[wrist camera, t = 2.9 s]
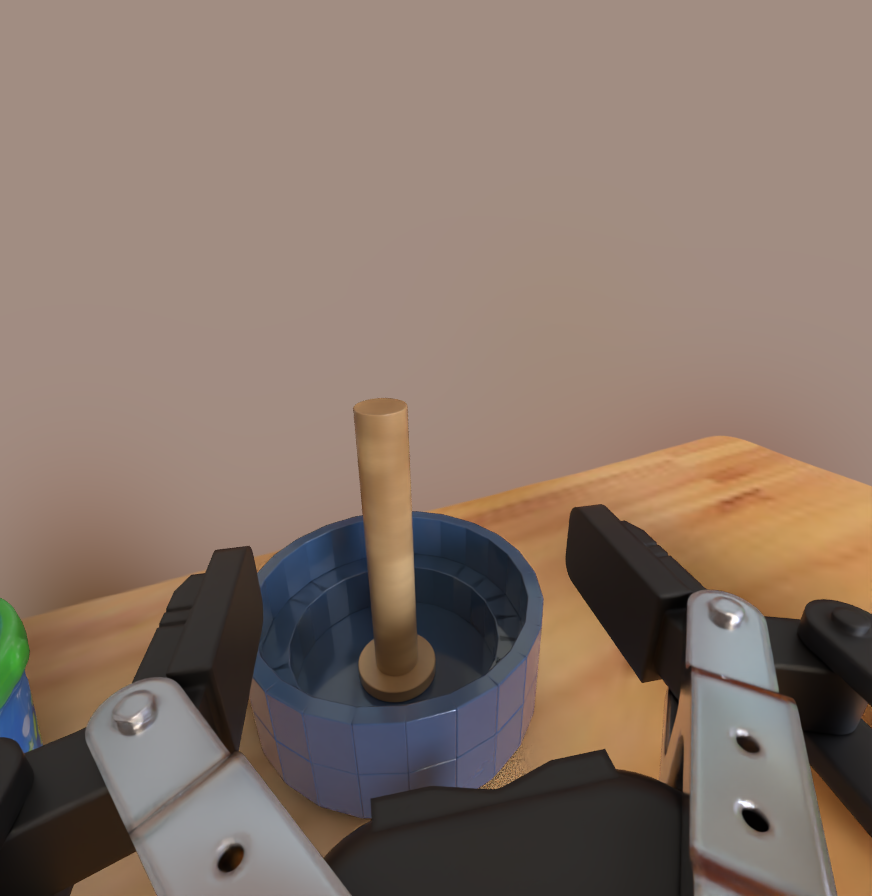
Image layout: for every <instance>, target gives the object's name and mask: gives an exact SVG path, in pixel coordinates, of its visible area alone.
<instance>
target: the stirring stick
mask: <svg viewBox="0 0 872 896" xmlns="http://www.w3.org/2000/svg"><path fill="white" fill-rule="evenodd" d="M353 411H354V423H355V434H356V445H357V456H358V467H359V478H360V490H361V499H362V500H361V501H362V512H363V523H364V534H365V546H366V557H367V568H368V579H369V590H370V601H371V612H372V624H373V635H374V639H373V640H372V641H370V642H369V643H368V644H367V645H366V646H365V648H364V649H363V651H362V653H361V655H360V657H359V662H358V668H359V677H360V681H361V684H362V686H363V687H364V689H365V690H366V691H367V692H368V693H369V694H370V695H371V696H373V697H375V698H377V699H379V700H382V701H386V702H403V701H407V700H410V699H413V698H415V697H417V696H418V695H420V694H421V693H423V692H424V691H425V690H426V689H427V688H428V687H429V685H430V684H431V682H432V681H433V678H434V676H435V671H436V659H435V653H434V650H433V648H432V646H431V645H430V643H429V642H428V641H427V640H426V639H424V638H423V637H421V636H420V635H418V634H417V622H416V599H415V575H414V551H413V528H412V505H411V480H410V458H409V434H408V409H407V404H406V403H405V402H404V401H401V400H398V399H391V398H378V399H370V400H365V401H362V402H360V403H357V404H356V405H355V406H354V408H353Z"/></svg>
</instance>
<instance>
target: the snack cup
mask: <svg viewBox="0 0 872 896" xmlns="http://www.w3.org/2000/svg"><path fill="white" fill-rule="evenodd" d="M29 652H30V650H29V645H28V639H27V634H26V631H25V628H24V626H23V623H22V621H21V619H20V618H19V616H18V615H17V613H16V611H15V609H14V608H13V607H12V606H11V605H10V604H9V603H8V602H7V601H5V600H4V599H2V598H0V737H6V738H11V739H13V740H15V741H16V742H17V743H18V744H19V745H20V747H21V749H22V751H23V752H24V753H26V752H29V751H31V750H34V749H36V748H39V747H41V746H43V743H42V738H41V734H40V729H39V725H38V721H37V716H36V712H35V708H34V704H33V700H32V695H31V690H30V686H29V681H28V679H27V677H26V674H25V667H26V665H27V662H28V659H29Z"/></svg>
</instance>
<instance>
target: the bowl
mask: <svg viewBox="0 0 872 896" xmlns="http://www.w3.org/2000/svg"><path fill="white" fill-rule="evenodd" d="M412 528H413V551H414V575H415V599H416V622H417V634H418V635H420V636H421V637H423V638H424V639H426V640H427V641H428V642H429V643H430V645H431V646H432V648H433V650H434V653H435V659H436V671H435V676H434V678H433V681H432V682H431V684H430V685H429V687H428V688H427V689H426V690H425V691H424V692H423V693H421V694H420V695H418V696H417V697H415V698H413V699H410V700H407V701H403V702H386V701H382V700H379V699H377V698H375V697H373V696H371V695H370V694H369V693H368V692H367V691H366V690H365V689H364V687H363V686H362V684H361V681H360V677H359V668H358V662H359V657H360V655H361V653H362V651H363V649H364V648H365V646H366V645H367V644H368V643H369V642H370V641H372V640H373V639H374V635H373V624H372V612H371V601H370V590H369V579H368V568H367V557H366V546H365V534H364V523H363V515H362V516H355V517H352V518H348V519H346V520H342V521H338V522H335V523H332V524H329V525H326V526H324V527H321V528H319V529H317V530H315V531H313V532H311V533H309V534H307V535H305V536H303V537H300V538H299V539H297V540H295V541H293V542H292V543H291V544H289V545H288V546H286V547H285V548H284V549H282V550H281V551H279V552H278V553H276V554H275V555H274V556H273V557H272V558H271V559H270V560H269V561H268V562H267V563H266V564H265V565H264V566H263V567H262V568H261V569H260V570H259V572H258V573H257V576H258V580H259V585H260V590H261V595H262V601H263V626H262V631H261V636H260V642H259V647H258V652H257V657H256V662H255V668H254V673H253V678H252V683H251V688H250V694H249V700H250V704H251V708H252V712H253V716H254V721H255V724H256V728H257V732H258V735H259V739H260V743H261V746H262V750H263V752H264V754H265V756H266V757H267V758H268V760H269V761H270V763H271V764H272V765H273V767H274V768H275V770H276V771H277V772H278V774H279V775H280V776H281V778H282V779H283V781H284V782H286V784H287V785H289V786H290V787H292V788H293V789H295V790H296V791H298V792H299V793H301V794H302V795H303V796H305V797H306V798H308V799H309V800H311V801H312V802H314V803H315V804H317V805H318V806H320V807H323V808H327V809H330V810H334V811H338V812H341V813H345V814H348V815H352V816H355V817H359V818H363V817H364V818H372V817H371V801H370V799H371V798H376V797H381V796H385V795H390V794H395V793H399V792H404V791H409V790H414V789H418V788H423V787H428V786H445V787H460V788H476V789H478V788H479V787H481V786H482V785H484V784H485V783H487V782H488V781H490V780H491V779H493V778H494V776H495V775H496V774H497V773H498V772H499V771H500V769H501V768H502V767H503V766H504V764H505V763H506V762H507V761H508V760H509V758H510V757H511V756H512V755H513V754H514V752H515V751H516V750H517V749H518V748H519V746H520V745H521V743H522V740H523V738H524V735H525V733H526V730H527V728H528V726H529V723H530V721H531V718H532V716H533V713H534V704H535V694H536V683H537V672H538V662H539V651H540V640H541V629H542V615H543V601H544V599H543V595H542V592H541V589H540V586H539V583H538V580H537V576H536V573H535V572H534V570H533V569H532V568H531V566H530V565H529V564H528V562H527V561H526V560H525V558H524V557H523V556H522V554H521V553H520V552H519V550H517V549H516V548H515V547H514V546H512V545H511V544H510V543H508V542H507V541H506V540H504V539H503V538H502V537H501V536H499V535H497V534H496V533H494V532H492V531H490V530H487V529H485V528H483V527H481V526H479V525H477V524H475V523H472V522H469V521H465V520H462V519H458V518H454V517H451V516H447V515H444V514H435V513H427V512H418V511H412Z"/></svg>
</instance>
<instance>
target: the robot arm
mask: <svg viewBox="0 0 872 896" xmlns="http://www.w3.org/2000/svg"><path fill="white" fill-rule="evenodd" d="M566 568H567V572H568V575H569V577H570V579H571V581H572V583H573V584H574V586H575V587H576V588H577V590H578V591H579V593H580V594H581V596H582V597H583V599H584V600H585V601H586V603H587V604H588V606H589V607H590V609H591V610H592V612H593V613H594V614H595V616H596V617H597V619H598V620H599V622H600V623H601V624H602V626H603V627H604V629H605V630H606V632H607V633H608V635H609V636H610V637H611V639H612V640H613V642H614V643H615V645H616V646H617V648H618V649H619V650H620V652H621V653H622V655H623V656H624V658H625V659H626V660H627V662H628V663H629V665H630V666H631V668H632V669H633V671H634V672H635V673H636V675H637V676H638V678H639V679H640V681H641V682H642V683H644V682H650V681H655V680H660V679H663V681H664V682H665V683H666V685H667V686H668V687H667V691H666V695H665V705H664V719H663V734H662V748H661V763H660V774H659V780H656V779H654V778H652V777H649V776H645V775H642V774H639V773H636V772H631V771H626V770H619V769H615V767H614V765H613V763H612V761H611V760H610V758H609V756H608V754H607V752H606V750H605V749H603V750H598V751H593V752H588V753H584V754H579V755H574V756H569V757H565V758H560V759H555V760H551V761H549V762H547V763H545V764H543V765H542V766H540V767H538V768H536V769H534V770H533V771H531V772H529V773H527V774H525V775H524V776H522V777H520V778H518V779H516V780H515V781H513V782H511V783H509V784H507V785H505V786H504V787H501V788H499V789H476V788H460V787H445V786H428V787H423V788H418V789H414V790H409V791H404V792H399V793H395V794H390V795H385V796H381V797H376V798H371V799H370V801H371V817H372V821H370V822H368V823H366V824H365V825H363V826H361V827H359V828H358V829H356V830H355V831H354V832H352V833H351V834H349V835H348V836H346V837H345V838H344V839H343V840H342V841H340V842H339V843H338V844H337V845H336V846H335V847H334V848H333V849H331V850H330V851H329V853H328V854H327V855H326V856H325V857H324V858H322V856H321V855H320V854H319V852H318V851H317V850H316V848H315V847H314V846H313V844H312V843H311V842H310V841H309V839H308V838H307V837H306V835H305V834H304V833H303V831H302V830H301V829H300V827H299V826H298V825H297V824H296V822H295V821H294V820H293V818H292V817H291V816H290V814H289V813H288V812H287V811H286V809H285V808H284V807H283V805H282V804H281V803H280V801H279V800H278V799H277V797H276V796H275V795H274V794H273V792H272V791H271V790H270V788H269V787H268V786H267V784H266V783H265V782H264V780H263V779H262V778H261V777H260V775H259V774H258V773H257V771H256V770H255V769H254V767H253V766H252V765H251V763H250V762H249V761H248V760H247V758H246V757H245V756H244V755H243V754H242V753H241V752H240V751H239V745H240V740H241V735H242V730H243V725H244V720H245V714H246V709H247V704H248V699H249V694H250V688H251V683H252V678H253V673H254V668H255V662H256V657H257V652H258V647H259V642H260V636H261V631H262V626H263V601H262V595H261V590H260V585H259V580H258V576H257V571H256V566H255V561H254V556H253V552H252V549H251V547H250V546H245V547H236V548H228V549H220V550H215V551H214V553H213V555H212V558H211V561H210V563H209V565H208V568H207V570H206V573H203V574H195V575H191V576H190V577H189V578H188V579H187V580H186V581H185V582H184V583H183V584H181V585H180V586H179V587H178V588H177V589H176V590H175V591H174V593H173V595H172V598H171V600H170V602H169V604H168V606H167V608H166V613H164V615H163V617H162V619H161V621H160V623H159V628H157V630H156V632H155V634H154V636H153V638H152V641H151V643H150V645H149V647H148V649H147V651H146V654H145V656H144V658H143V660H142V662H141V664H140V666H139V669H138V671H137V673H136V675H135V677H134V679H133V682H132V684H129V685H127V686H126V687H124V688H122V689H120V690H119V691H117V692H115V693H114V694H113V695H111V696H110V697H109V698H108V699H106V700H105V701H104V702H103V703H102V704H101V705H100V706H99V707H98V708H97V710H96V711H95V712H94V714H93V715H92V717H91V718H90V720H89V722H88V724H87V727H85V728H83V729H81V730H79V731H77V732H75V733H73V734H70V735H68V736H65V737H63V738H61V739H58V740H56V741H53V742H51V743H48V744H46V745H43V746H41V747H39V748H36V749H34V750H31V751H29V752H26V753H24V752H23V751H22V749H21V747H20V745H19V744H18V743H17V742H16V741H15V740H13V739H11V738H6V737H0V896H70V894H71V891H72V888H73V885H74V884H75V883H77V882H79V881H81V880H83V879H85V878H87V877H89V876H90V875H92V874H94V873H96V872H98V871H100V870H102V869H104V868H106V867H107V866H109V865H111V864H113V863H115V862H117V861H119V860H121V859H123V858H124V857H126V856H128V855H130V854H132V853H134V852H137V854H138V856H139V858H140V861H141V863H142V865H143V867H144V869H145V871H146V873H147V876H148V878H149V880H150V882H151V884H152V886H153V889H154V891H155V893H156V895H157V896H837V891H836V887H835V882H834V877H833V872H832V868H831V863H830V858H829V854H828V849H827V844H826V840H825V835H824V830H823V825H822V821H821V816H820V811H819V807H818V802H817V797H816V793H815V788H814V783H813V778H812V774H811V769H810V765H811V766H812V767H813V769H814V770H815V771H816V772H817V773H818V774H819V776H820V777H821V778H822V779H823V780H824V782H825V783H826V784H827V785H828V786H829V787H830V789H831V790H832V791H833V792H834V793H835V795H836V796H837V797H838V798H839V799H840V801H841V802H842V803H843V804H844V805H845V806H846V808H847V809H848V810H849V811H850V812H851V814H852V815H853V816H854V817H855V818H856V819H857V821H858V822H859V823H860V824H861V825H862V827H863V828H864V829H865V830H866V831H867V833H868V834H869V835H870V836H871V837H872V728H871V727H870V726H869V725H868V724H867V723H865V722H864V721H863V720H862V719H861V717H862V715H863V713H864V711H865V709H866V707H867V705H868V704H869V705H871V706H872V614H870V613H868V612H867V611H864V610H862V609H860V608H858V607H855V606H853V605H850V604H847V603H843V602H839V601H834V600H825V599H822V600H814V601H811V602H809V603H808V604H807V605H806V607H805V609H804V612H803V615H802V618H801V620H800V619H789V618H778V617H767V616H763V614H762V613H761V612H760V611H759V610H758V609H757V608H756V607H755V606H753V605H752V604H751V603H749V602H747V601H746V600H744V599H742V598H740V597H738V596H736V595H733V594H730V593H727V592H723V591H718V590H707V589H706V588H704V587H703V586H702V585H701V584H700V583H699V582H698V581H697V580H696V579H695V578H694V577H693V576H692V575H691V574H690V573H688V572H687V571H686V570H685V569H684V568H683V567H682V566H681V565H680V564H679V563H678V562H677V561H676V560H675V559H674V558H672V557H671V556H668V553H667V552H666V551H665V550H664V549H663V548H662V547H661V546H660V545H657V543H656V542H655V541H654V540H653V539H652V538H651V537H650V536H649V535H648V534H647V533H646V532H645V531H644V530H642V529H640V528H638V527H636V526H634V525H632V524H630V523H628V522H627V521H620V520H619V519H618V518H617V517H616V516H615V515H614V514H613V513H612V512H611V511H610V510H609V509H608V508H607V507H606V506H604V505H602V504H599V505H591V506H583V507H575V508H573V509H572V511H571V513H570V519H569V529H568V538H567V548H566Z"/></svg>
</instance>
